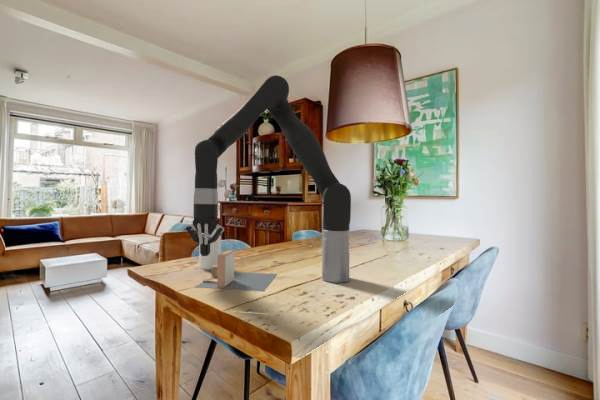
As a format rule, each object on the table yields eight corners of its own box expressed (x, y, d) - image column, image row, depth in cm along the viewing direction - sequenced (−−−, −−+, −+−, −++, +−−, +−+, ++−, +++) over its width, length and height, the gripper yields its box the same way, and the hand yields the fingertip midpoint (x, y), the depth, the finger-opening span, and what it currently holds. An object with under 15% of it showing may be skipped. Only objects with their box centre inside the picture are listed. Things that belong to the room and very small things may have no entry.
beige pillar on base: (233, 271, 105) (234, 260, 105) (217, 283, 91) (217, 270, 91) (221, 270, 106) (221, 260, 106) (202, 282, 91) (202, 270, 91)
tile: (234, 280, 94) (234, 250, 94) (224, 287, 86) (225, 255, 86) (227, 279, 94) (227, 250, 94) (217, 287, 86) (217, 255, 86)
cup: (217, 270, 108) (217, 228, 108) (196, 269, 108) (196, 228, 108) (223, 265, 116) (223, 226, 116) (203, 264, 116) (204, 226, 116)
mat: (277, 274, 102) (277, 274, 102) (263, 292, 83) (263, 291, 83) (220, 272, 105) (220, 271, 105) (194, 288, 86) (194, 287, 86)
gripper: (229, 202, 94) (228, 254, 94) (192, 202, 96) (192, 252, 96) (220, 203, 86) (219, 259, 87) (180, 202, 88) (179, 257, 89)
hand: (205, 255), depth 91 cm, fingers closed
